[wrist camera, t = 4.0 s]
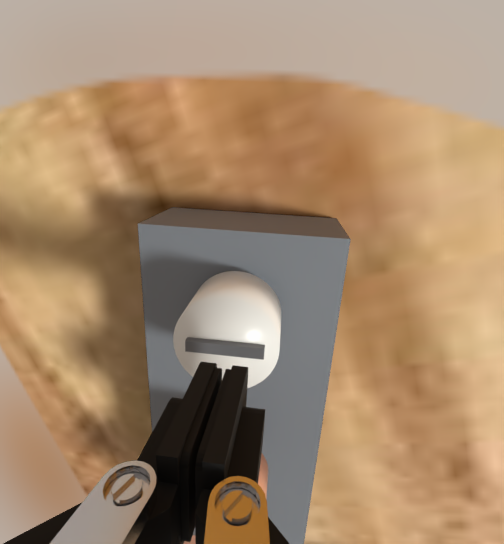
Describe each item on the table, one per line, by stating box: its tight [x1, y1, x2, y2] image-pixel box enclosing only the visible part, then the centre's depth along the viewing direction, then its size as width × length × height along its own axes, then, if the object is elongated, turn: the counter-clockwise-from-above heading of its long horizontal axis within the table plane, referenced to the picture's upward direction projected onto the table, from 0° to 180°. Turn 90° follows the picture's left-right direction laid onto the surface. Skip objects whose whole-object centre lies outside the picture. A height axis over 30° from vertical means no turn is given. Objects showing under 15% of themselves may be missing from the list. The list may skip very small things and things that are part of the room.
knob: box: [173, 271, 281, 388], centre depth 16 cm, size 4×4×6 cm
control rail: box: [138, 207, 350, 544], centre depth 22 cm, size 24×10×5 cm, turn 177°
